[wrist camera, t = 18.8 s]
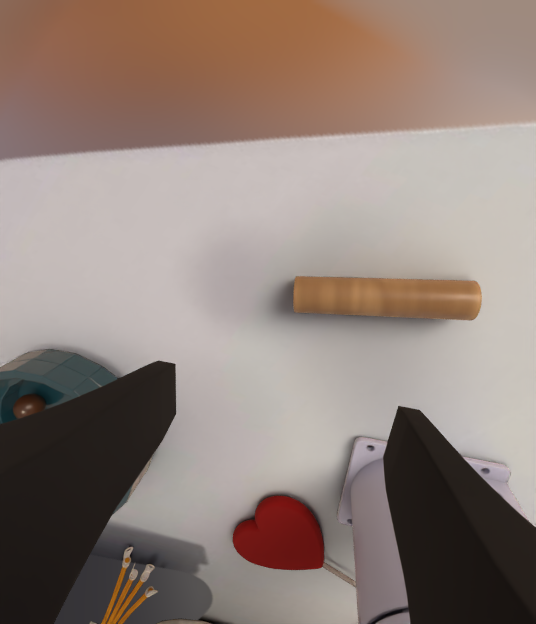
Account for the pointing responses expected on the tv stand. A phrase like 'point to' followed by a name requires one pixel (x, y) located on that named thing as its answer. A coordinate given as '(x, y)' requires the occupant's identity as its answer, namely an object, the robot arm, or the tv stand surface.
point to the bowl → (53, 384)
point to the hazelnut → (28, 405)
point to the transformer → (132, 576)
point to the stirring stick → (388, 297)
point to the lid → (182, 621)
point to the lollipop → (283, 537)
